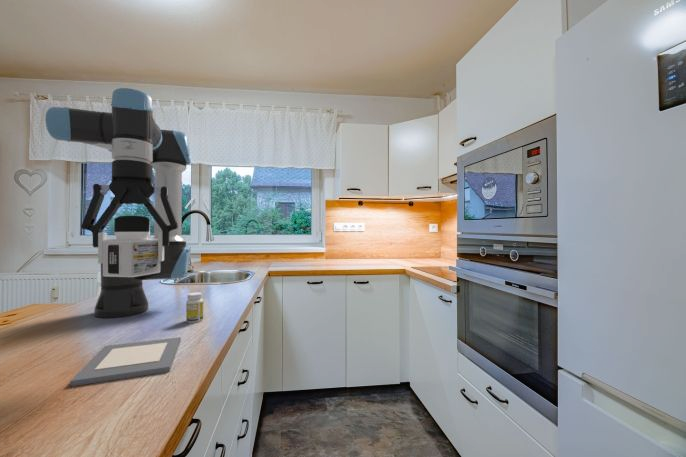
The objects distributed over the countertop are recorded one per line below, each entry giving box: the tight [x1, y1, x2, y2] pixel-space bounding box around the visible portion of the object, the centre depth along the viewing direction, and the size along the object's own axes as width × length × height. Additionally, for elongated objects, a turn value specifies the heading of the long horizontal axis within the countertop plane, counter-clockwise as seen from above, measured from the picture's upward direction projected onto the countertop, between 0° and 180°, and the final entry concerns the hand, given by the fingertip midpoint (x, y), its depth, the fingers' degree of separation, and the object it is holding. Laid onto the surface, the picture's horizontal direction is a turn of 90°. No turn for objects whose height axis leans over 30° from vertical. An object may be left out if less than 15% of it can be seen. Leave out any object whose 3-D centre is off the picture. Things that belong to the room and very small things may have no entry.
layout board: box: [70, 336, 181, 387], centre depth 68 cm, size 18×16×1 cm
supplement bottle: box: [185, 291, 204, 324], centre depth 97 cm, size 5×5×8 cm
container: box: [103, 215, 160, 277], centre depth 69 cm, size 8×8×13 cm
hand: (132, 261), depth 69 cm, fingers closed on container, 10 cm apart
